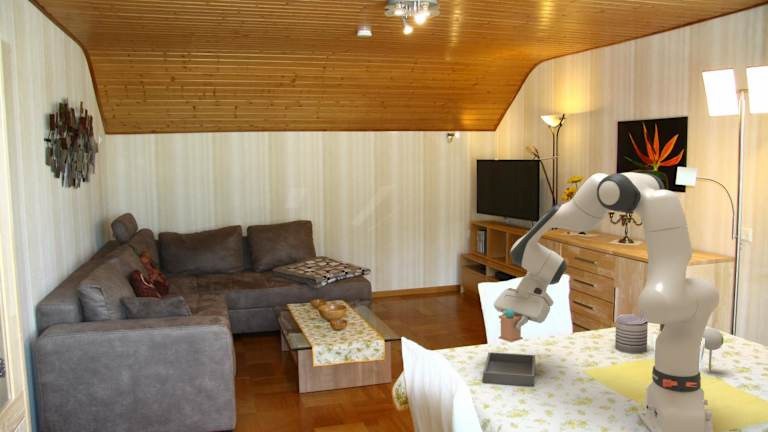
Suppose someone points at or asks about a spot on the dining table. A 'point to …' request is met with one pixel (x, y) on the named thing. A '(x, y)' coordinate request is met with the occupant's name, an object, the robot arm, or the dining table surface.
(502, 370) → the charcoal tray
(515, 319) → the terracotta square pedestal
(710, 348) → the lollipop
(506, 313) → the teal ball
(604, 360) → the dining table surface
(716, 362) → the dining table surface
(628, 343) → the can
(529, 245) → the robot arm
